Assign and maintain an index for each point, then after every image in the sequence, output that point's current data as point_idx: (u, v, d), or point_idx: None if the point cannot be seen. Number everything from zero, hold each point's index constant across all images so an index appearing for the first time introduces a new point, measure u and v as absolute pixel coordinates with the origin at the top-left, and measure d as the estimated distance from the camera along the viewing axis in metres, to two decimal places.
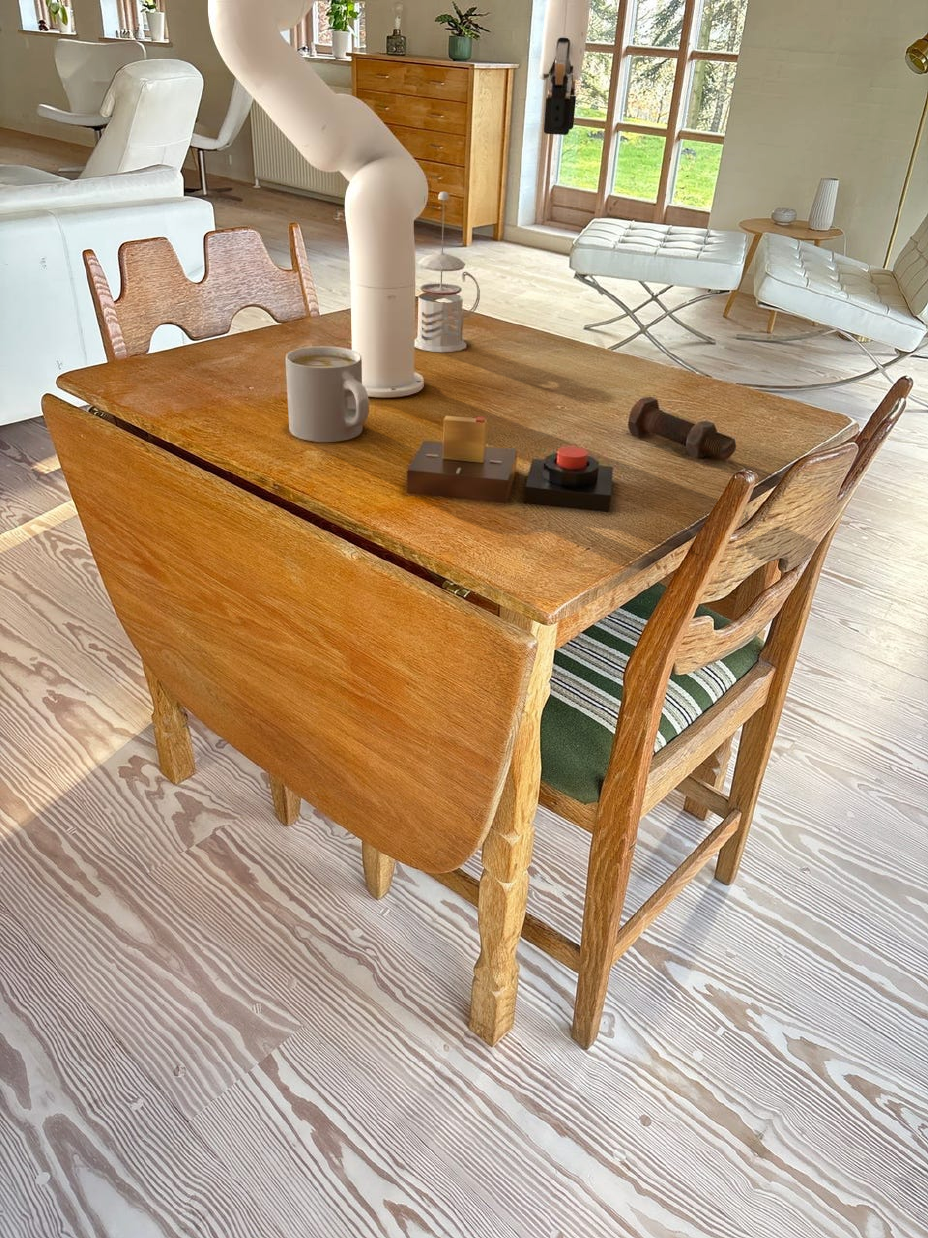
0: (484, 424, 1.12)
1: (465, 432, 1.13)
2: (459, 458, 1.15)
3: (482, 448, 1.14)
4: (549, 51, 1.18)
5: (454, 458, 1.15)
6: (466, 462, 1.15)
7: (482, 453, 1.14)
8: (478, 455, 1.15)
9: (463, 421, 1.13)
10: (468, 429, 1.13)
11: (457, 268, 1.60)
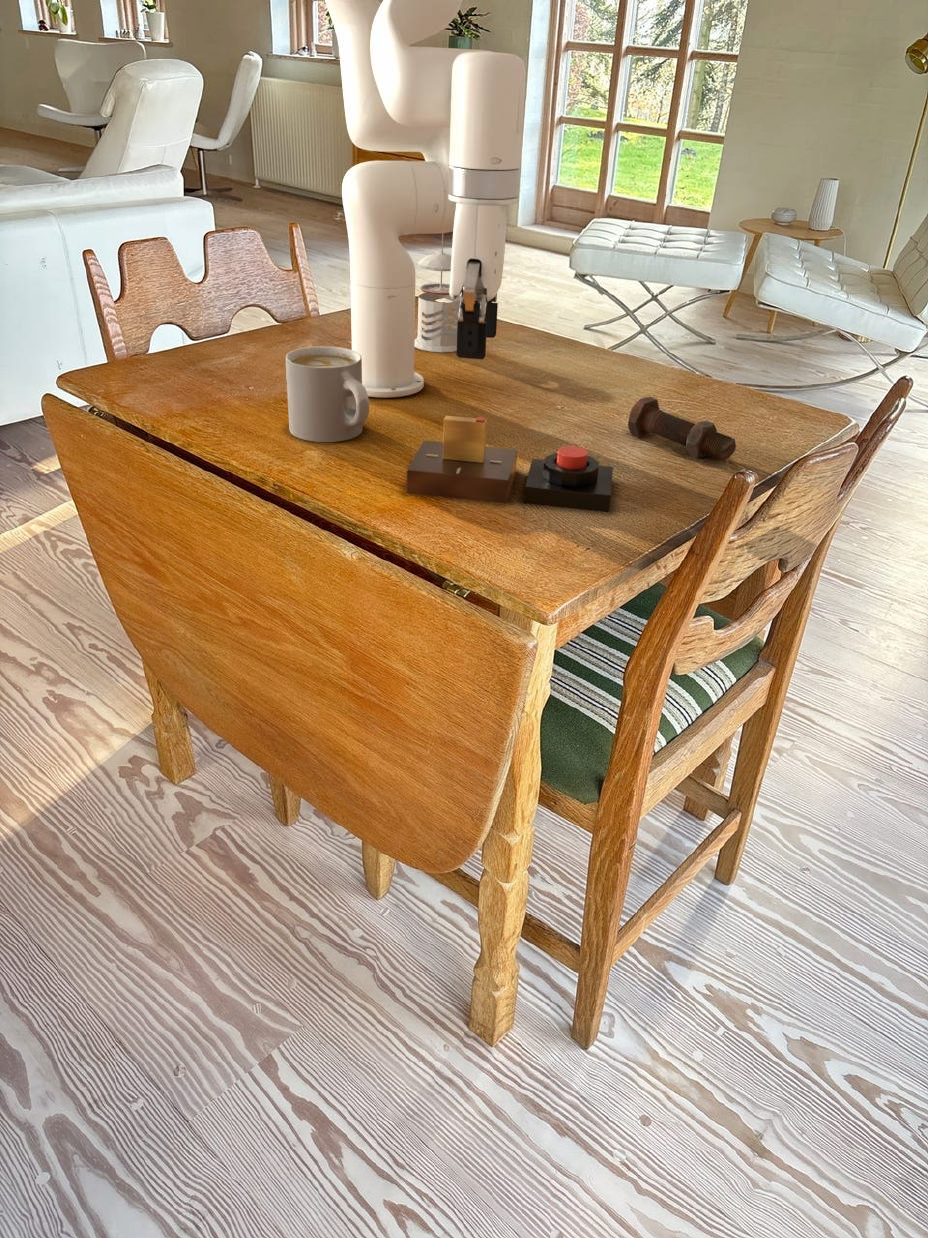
0: (484, 424, 1.12)
1: (465, 432, 1.13)
2: (459, 458, 1.15)
3: (482, 448, 1.14)
4: (458, 272, 1.02)
5: (454, 458, 1.15)
6: (466, 462, 1.15)
7: (482, 453, 1.14)
8: (478, 455, 1.15)
9: (463, 421, 1.13)
10: (468, 429, 1.13)
11: None
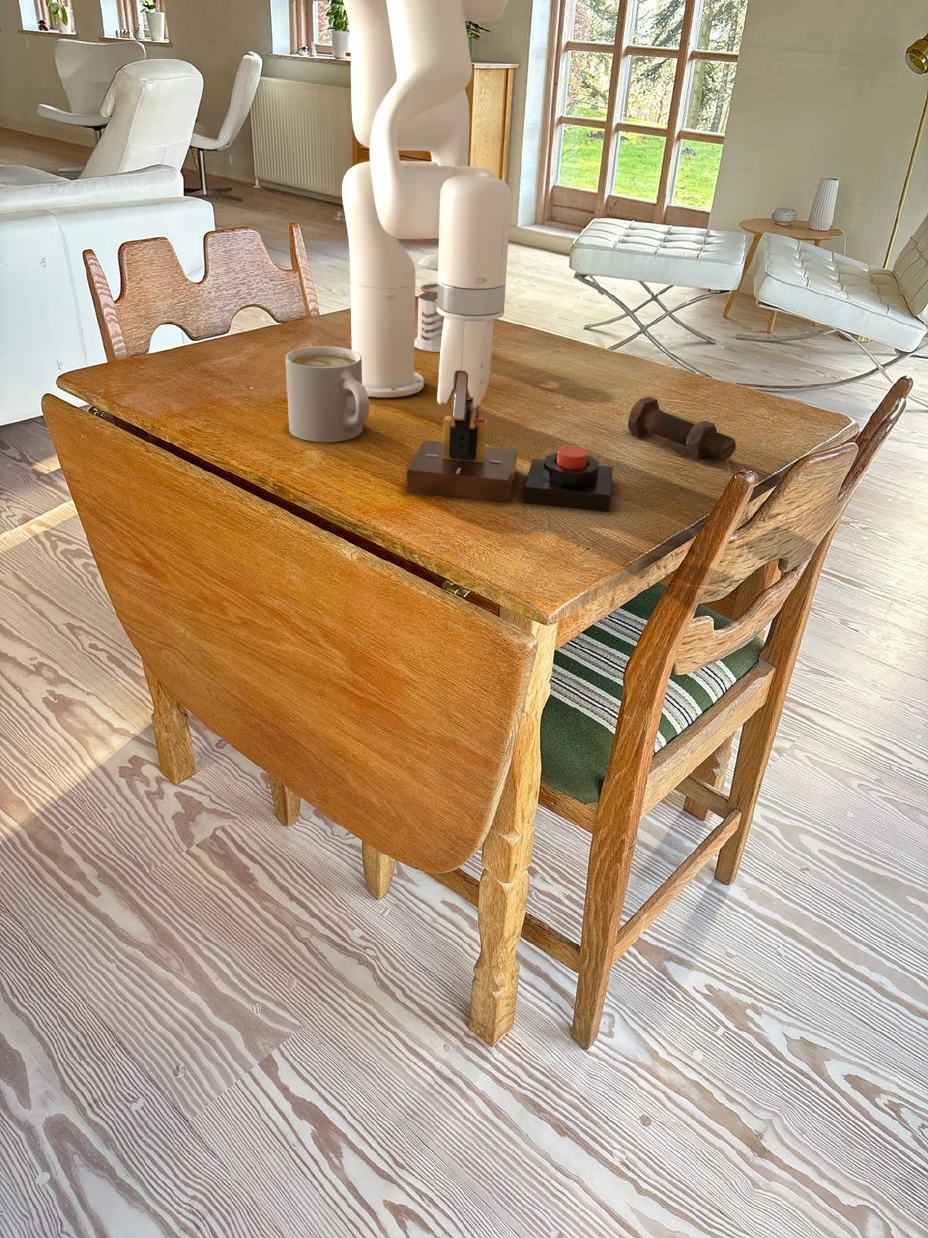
0: (484, 424, 1.12)
1: None
2: None
3: (482, 448, 1.14)
4: (446, 383, 1.06)
5: None
6: (466, 462, 1.15)
7: (482, 453, 1.14)
8: (478, 455, 1.15)
9: None
10: None
11: None
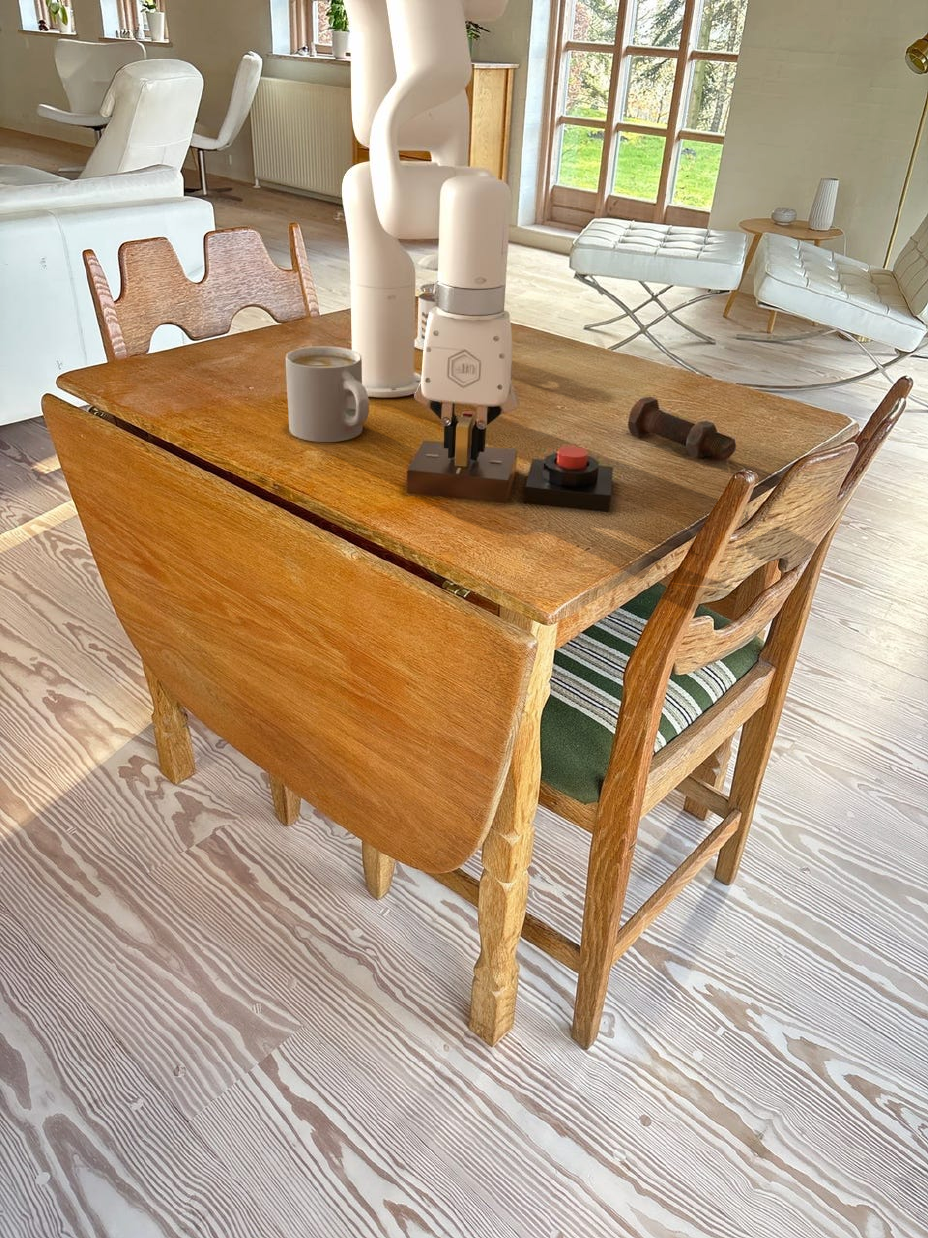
0: None
1: (471, 430, 1.14)
2: (469, 458, 1.15)
3: None
4: (509, 379, 1.08)
5: (468, 460, 1.15)
6: None
7: None
8: None
9: (471, 420, 1.13)
10: (471, 425, 1.14)
11: None
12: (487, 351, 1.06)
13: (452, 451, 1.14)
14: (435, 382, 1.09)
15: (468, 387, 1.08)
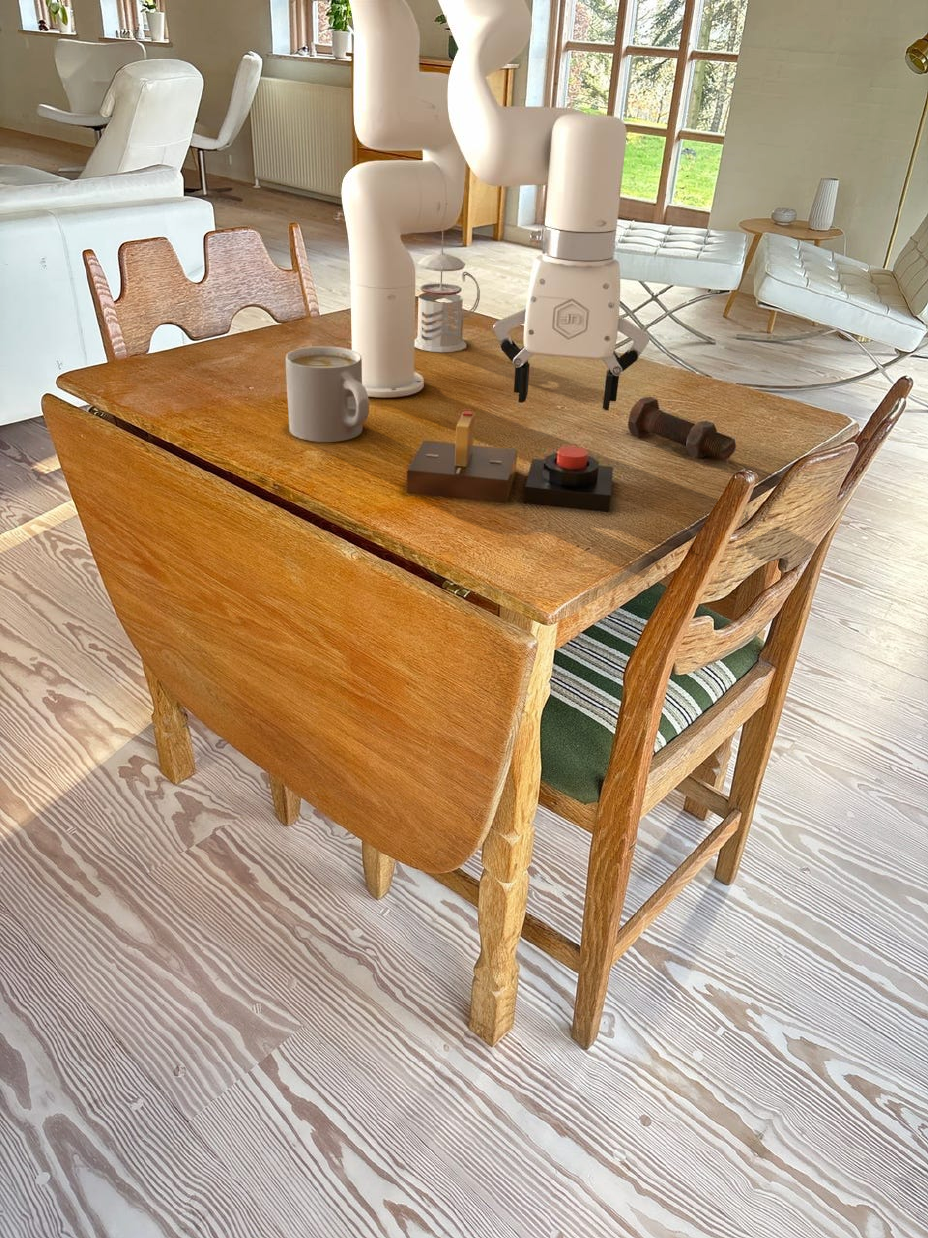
0: None
1: (471, 430, 1.14)
2: (469, 458, 1.15)
3: None
4: (617, 330, 1.03)
5: (468, 460, 1.15)
6: None
7: (472, 443, 1.17)
8: (472, 447, 1.17)
9: (471, 420, 1.13)
10: (471, 425, 1.14)
11: (457, 268, 1.60)
12: (596, 300, 1.01)
13: (523, 395, 1.09)
14: (538, 334, 1.04)
15: (574, 339, 1.04)
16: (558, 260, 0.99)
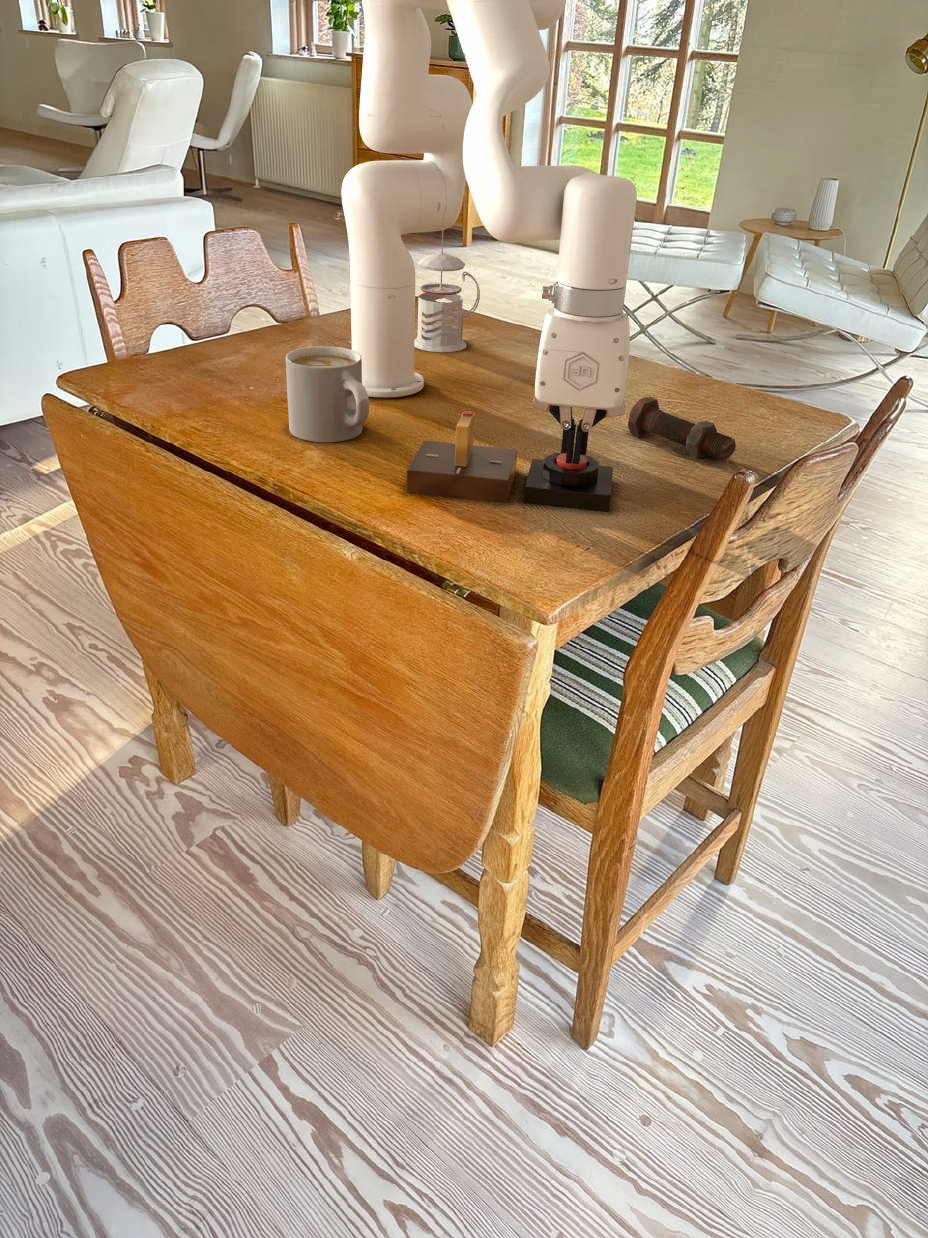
0: None
1: (471, 430, 1.14)
2: (469, 458, 1.15)
3: None
4: (626, 382, 1.06)
5: (468, 460, 1.15)
6: None
7: (472, 443, 1.17)
8: (472, 447, 1.17)
9: (471, 420, 1.13)
10: (471, 425, 1.14)
11: (457, 268, 1.60)
12: (606, 353, 1.04)
13: (570, 456, 1.12)
14: (550, 385, 1.07)
15: (584, 390, 1.06)
16: (570, 316, 1.02)
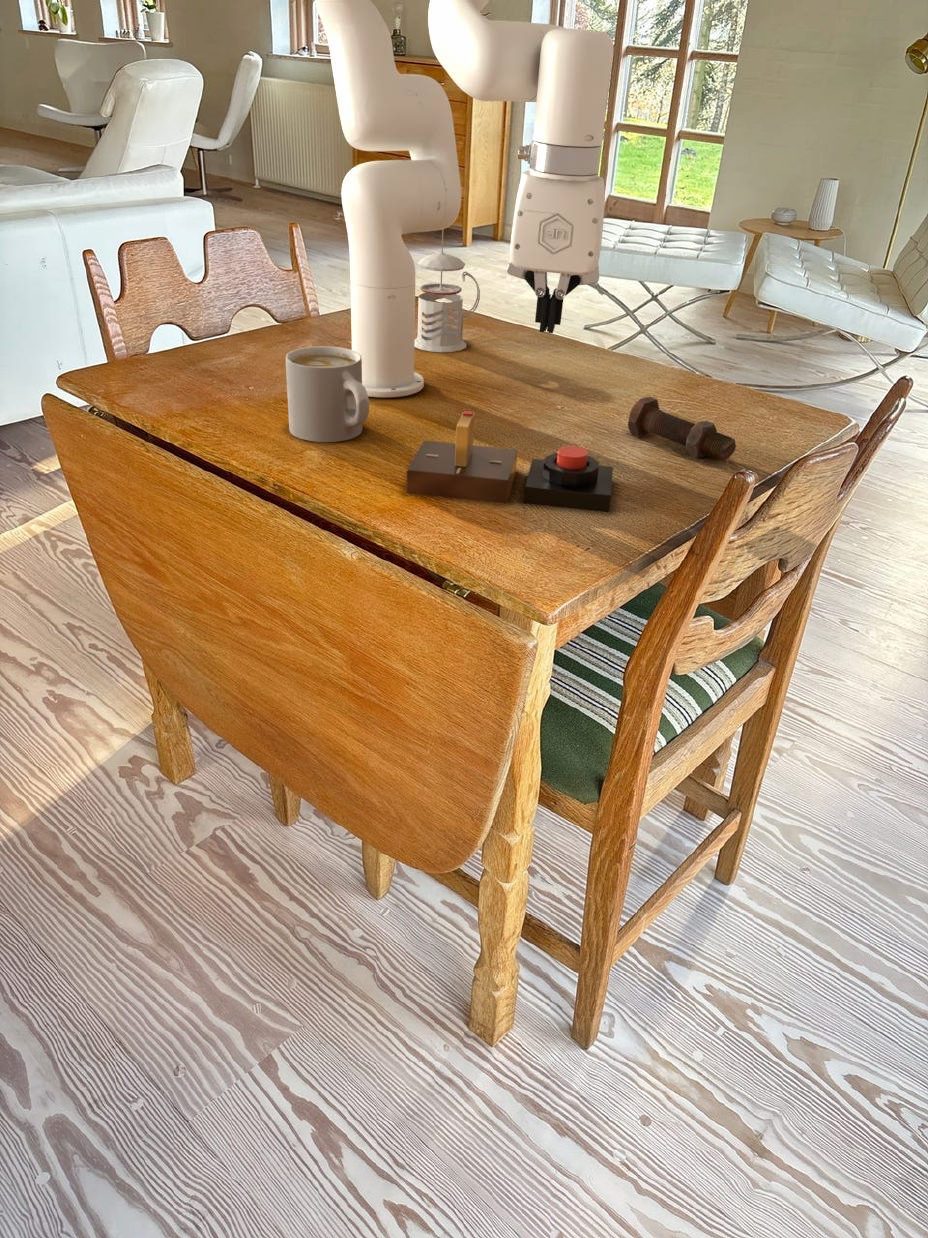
0: None
1: (471, 430, 1.14)
2: (469, 458, 1.15)
3: None
4: (600, 246, 1.07)
5: (468, 460, 1.15)
6: None
7: (472, 443, 1.17)
8: (472, 447, 1.17)
9: (471, 420, 1.13)
10: (471, 425, 1.14)
11: (457, 268, 1.60)
12: (580, 215, 1.05)
13: (544, 324, 1.13)
14: (524, 248, 1.07)
15: (558, 254, 1.07)
16: (545, 174, 1.03)
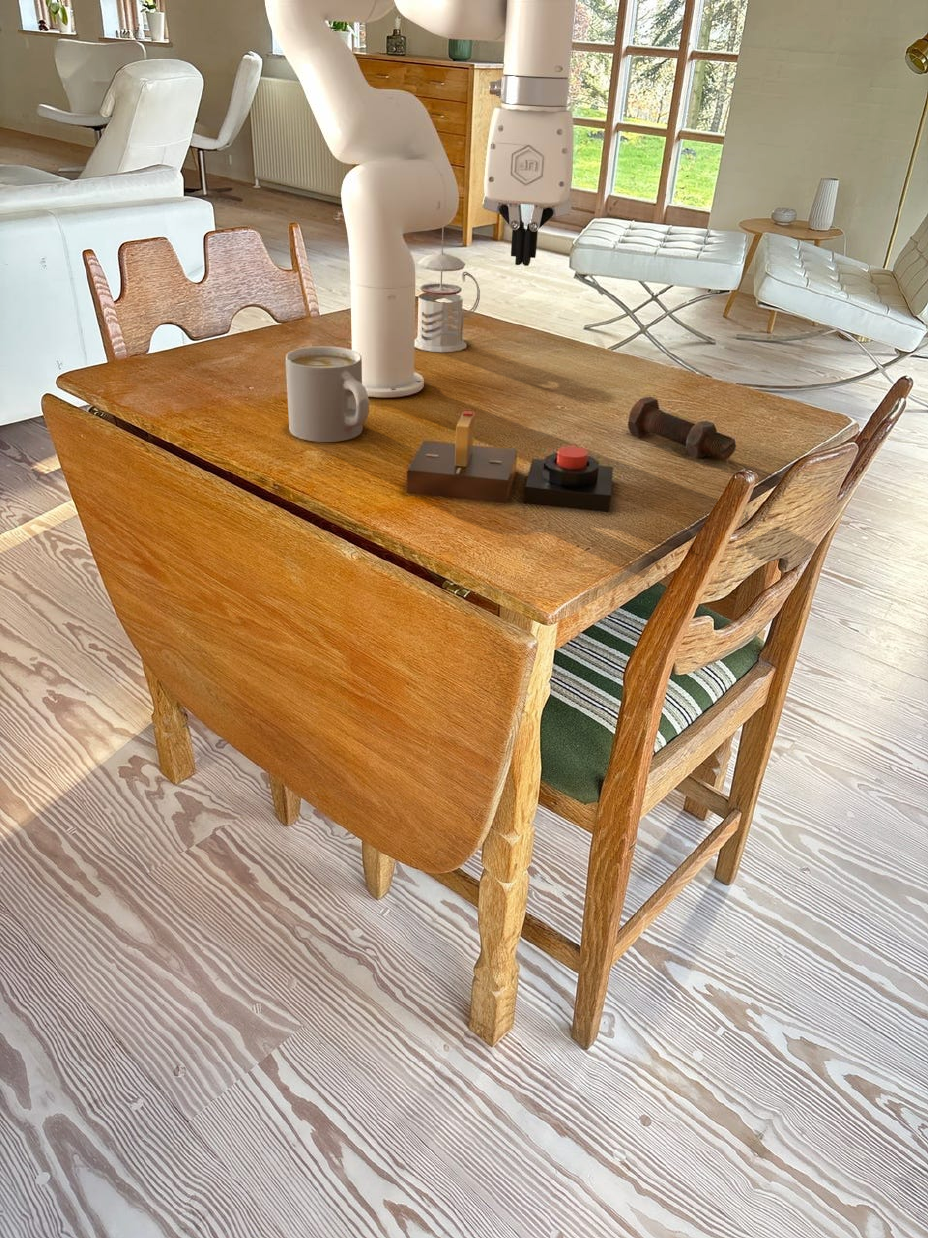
0: None
1: (471, 430, 1.14)
2: (469, 458, 1.15)
3: None
4: (571, 177, 1.11)
5: (468, 460, 1.15)
6: None
7: (472, 443, 1.17)
8: (472, 447, 1.17)
9: (471, 420, 1.13)
10: (471, 425, 1.14)
11: (457, 268, 1.60)
12: (550, 145, 1.09)
13: (519, 257, 1.17)
14: (498, 181, 1.12)
15: (531, 185, 1.11)
16: (515, 106, 1.07)
